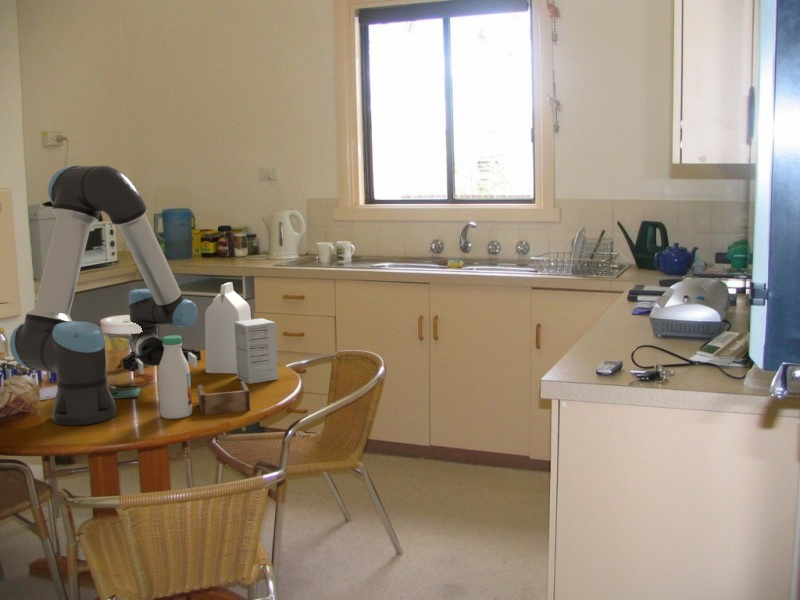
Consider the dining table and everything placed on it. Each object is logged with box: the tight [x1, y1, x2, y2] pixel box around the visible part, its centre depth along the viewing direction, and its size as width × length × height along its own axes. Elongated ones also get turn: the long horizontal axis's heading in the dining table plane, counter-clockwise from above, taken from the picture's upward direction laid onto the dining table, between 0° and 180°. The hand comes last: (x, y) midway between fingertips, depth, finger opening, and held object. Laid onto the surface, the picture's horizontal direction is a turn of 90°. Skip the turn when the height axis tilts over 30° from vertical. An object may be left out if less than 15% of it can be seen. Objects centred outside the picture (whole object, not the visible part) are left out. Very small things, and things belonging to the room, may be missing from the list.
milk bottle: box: [157, 334, 193, 420], centre depth 222 cm, size 8×8×20 cm
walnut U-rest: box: [197, 380, 251, 416], centre depth 230 cm, size 12×11×5 cm
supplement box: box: [234, 317, 279, 385], centre depth 257 cm, size 10×9×17 cm
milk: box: [204, 281, 252, 374], centre depth 270 cm, size 12×12×26 cm
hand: (169, 365), depth 229 cm, fingers open, 13 cm apart
